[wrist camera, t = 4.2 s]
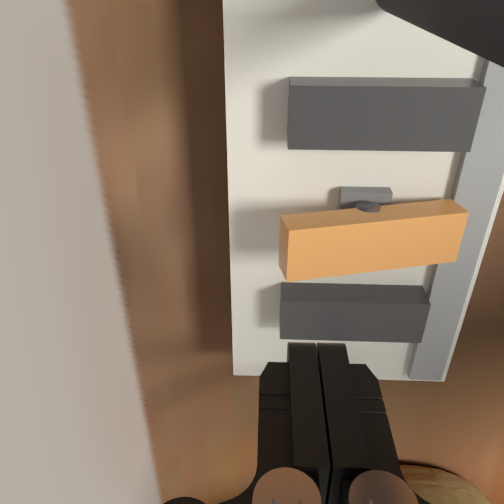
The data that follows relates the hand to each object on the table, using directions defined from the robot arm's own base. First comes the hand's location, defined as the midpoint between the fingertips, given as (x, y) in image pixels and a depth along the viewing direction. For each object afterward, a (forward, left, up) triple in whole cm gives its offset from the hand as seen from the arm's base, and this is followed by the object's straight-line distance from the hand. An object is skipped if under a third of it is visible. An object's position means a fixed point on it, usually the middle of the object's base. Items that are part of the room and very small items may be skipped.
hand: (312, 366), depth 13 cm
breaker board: (-2, +2, -12) cm, 12 cm away
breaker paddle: (-2, +2, -7) cm, 8 cm away
